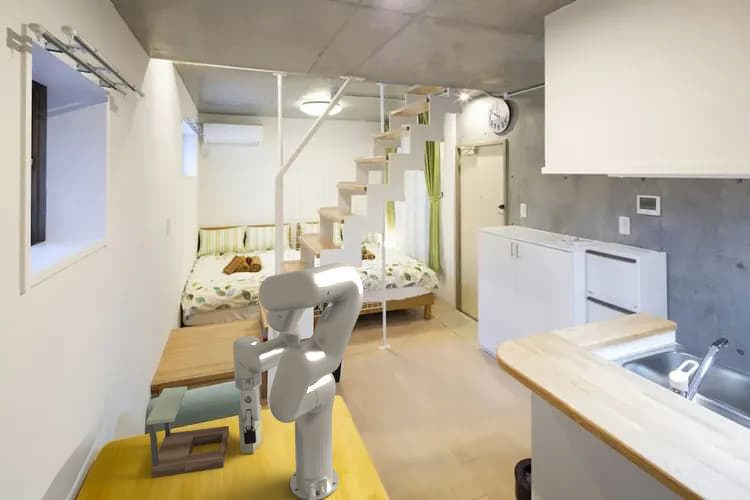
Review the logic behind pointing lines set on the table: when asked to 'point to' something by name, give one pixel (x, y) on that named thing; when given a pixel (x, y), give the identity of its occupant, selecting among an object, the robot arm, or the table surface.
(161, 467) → the socket board
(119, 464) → the table surface
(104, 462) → the table surface
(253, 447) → the skincare box
